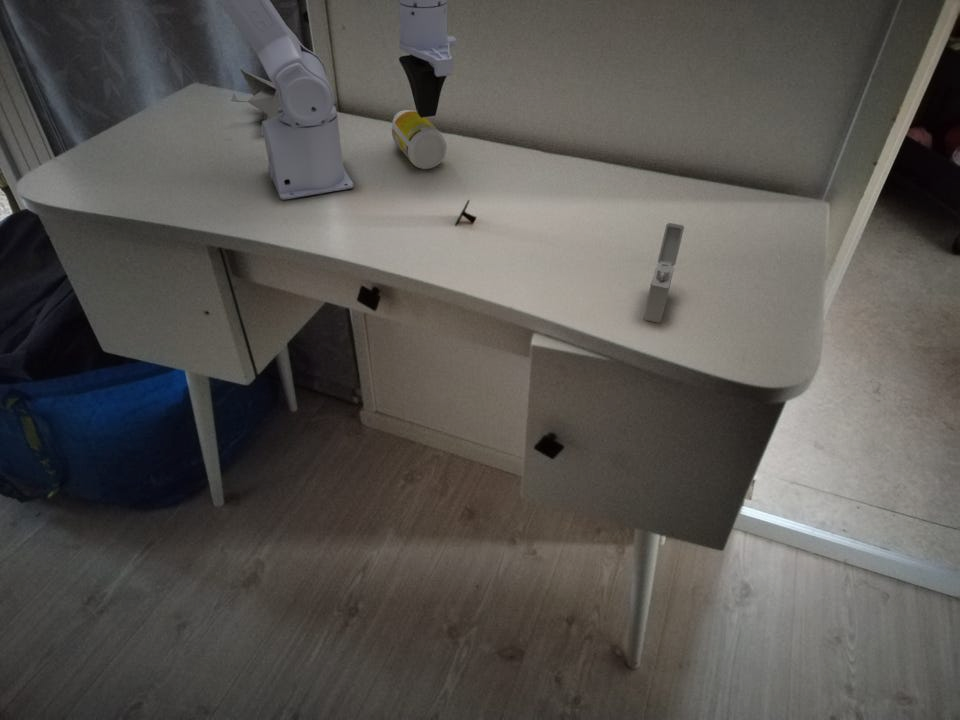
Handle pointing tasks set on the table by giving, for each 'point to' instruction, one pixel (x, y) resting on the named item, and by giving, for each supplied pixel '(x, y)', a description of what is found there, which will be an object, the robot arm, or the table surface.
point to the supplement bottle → (418, 139)
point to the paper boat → (262, 96)
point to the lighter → (663, 273)
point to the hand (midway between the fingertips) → (426, 114)
